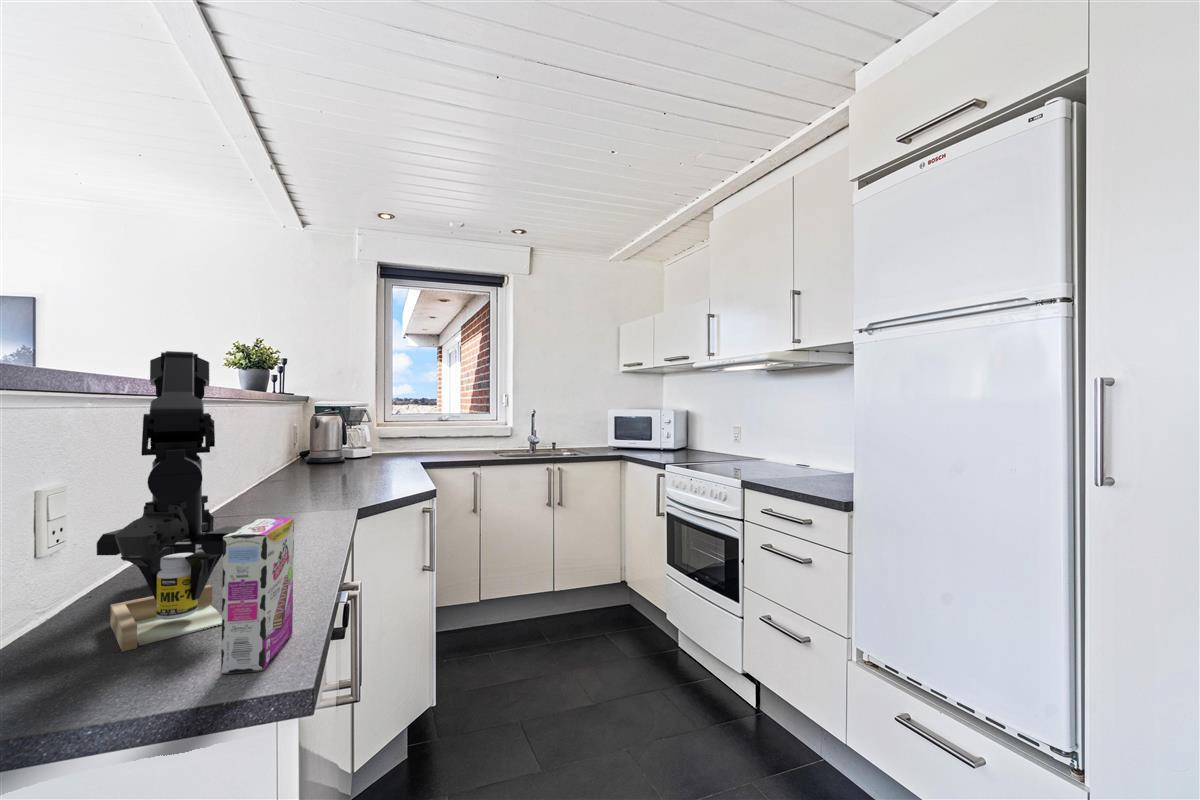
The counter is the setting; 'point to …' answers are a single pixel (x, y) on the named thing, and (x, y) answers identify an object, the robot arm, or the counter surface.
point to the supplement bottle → (175, 588)
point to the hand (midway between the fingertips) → (177, 599)
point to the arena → (158, 621)
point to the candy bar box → (256, 594)
